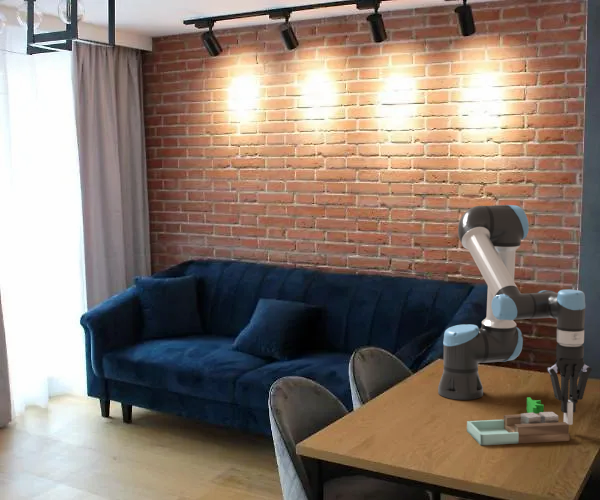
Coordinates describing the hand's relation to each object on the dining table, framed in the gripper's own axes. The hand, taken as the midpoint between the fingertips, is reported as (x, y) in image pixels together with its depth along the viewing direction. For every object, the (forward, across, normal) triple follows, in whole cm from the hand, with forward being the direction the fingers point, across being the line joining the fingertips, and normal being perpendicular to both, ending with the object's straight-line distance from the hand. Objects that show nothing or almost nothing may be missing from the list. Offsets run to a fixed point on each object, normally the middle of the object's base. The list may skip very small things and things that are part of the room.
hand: (568, 423), depth 227 cm
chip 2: (+1, -6, 0) cm, 6 cm away
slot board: (+3, -10, 0) cm, 10 cm away
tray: (+3, -23, 0) cm, 23 cm away
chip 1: (+1, -11, 0) cm, 11 cm away
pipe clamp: (+3, -3, +16) cm, 17 cm away
